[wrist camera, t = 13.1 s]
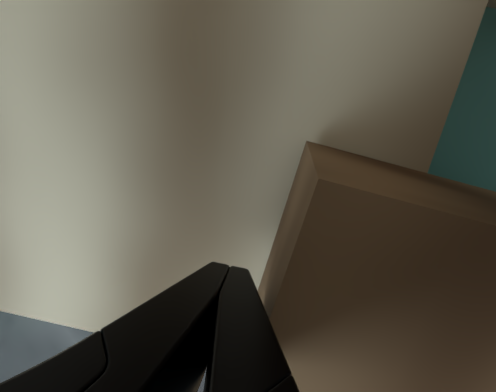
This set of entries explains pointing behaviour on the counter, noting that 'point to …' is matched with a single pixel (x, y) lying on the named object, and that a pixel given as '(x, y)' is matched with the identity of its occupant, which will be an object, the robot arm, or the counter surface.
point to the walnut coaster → (383, 278)
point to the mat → (472, 117)
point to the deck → (195, 131)
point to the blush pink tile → (491, 4)
